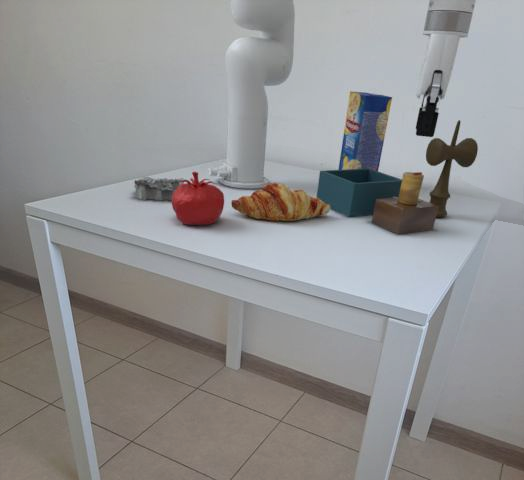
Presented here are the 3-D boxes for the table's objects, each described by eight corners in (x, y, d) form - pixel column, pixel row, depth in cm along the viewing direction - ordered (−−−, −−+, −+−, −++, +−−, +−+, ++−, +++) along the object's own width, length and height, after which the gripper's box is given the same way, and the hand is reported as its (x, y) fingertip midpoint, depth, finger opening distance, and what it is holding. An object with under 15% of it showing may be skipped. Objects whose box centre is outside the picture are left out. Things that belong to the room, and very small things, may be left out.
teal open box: (349, 217, 105) (354, 183, 101) (315, 201, 114) (319, 170, 110) (398, 211, 112) (405, 180, 108) (363, 197, 121) (369, 168, 117)
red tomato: (223, 230, 91) (225, 179, 86) (170, 228, 90) (168, 176, 85) (223, 215, 99) (224, 167, 94) (174, 212, 98) (172, 164, 93)
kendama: (460, 218, 110) (487, 123, 100) (424, 219, 107) (449, 121, 97) (443, 211, 115) (468, 118, 105) (409, 212, 112) (431, 117, 102)
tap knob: (407, 205, 97) (414, 175, 94) (393, 200, 100) (399, 170, 97) (421, 204, 99) (428, 174, 96) (407, 198, 102) (414, 170, 99)
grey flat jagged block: (133, 200, 104) (131, 180, 102) (138, 191, 111) (137, 172, 108) (183, 202, 105) (182, 183, 103) (185, 193, 111) (185, 175, 109)
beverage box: (359, 180, 137) (374, 93, 126) (374, 190, 128) (392, 97, 117) (336, 179, 136) (350, 91, 124) (350, 189, 127) (365, 95, 115)
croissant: (321, 227, 108) (320, 191, 107) (339, 219, 98) (339, 179, 98) (228, 226, 103) (226, 187, 102) (237, 216, 93) (236, 174, 92)
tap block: (397, 234, 97) (403, 208, 94) (371, 222, 103) (375, 197, 100) (433, 230, 101) (439, 205, 99) (405, 218, 107) (411, 194, 104)
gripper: (423, 28, 92) (404, 126, 101) (425, 21, 77) (403, 136, 86) (465, 30, 90) (441, 130, 99) (474, 23, 76) (446, 140, 85)
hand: (423, 133), depth 93 cm, fingers open, 9 cm apart
